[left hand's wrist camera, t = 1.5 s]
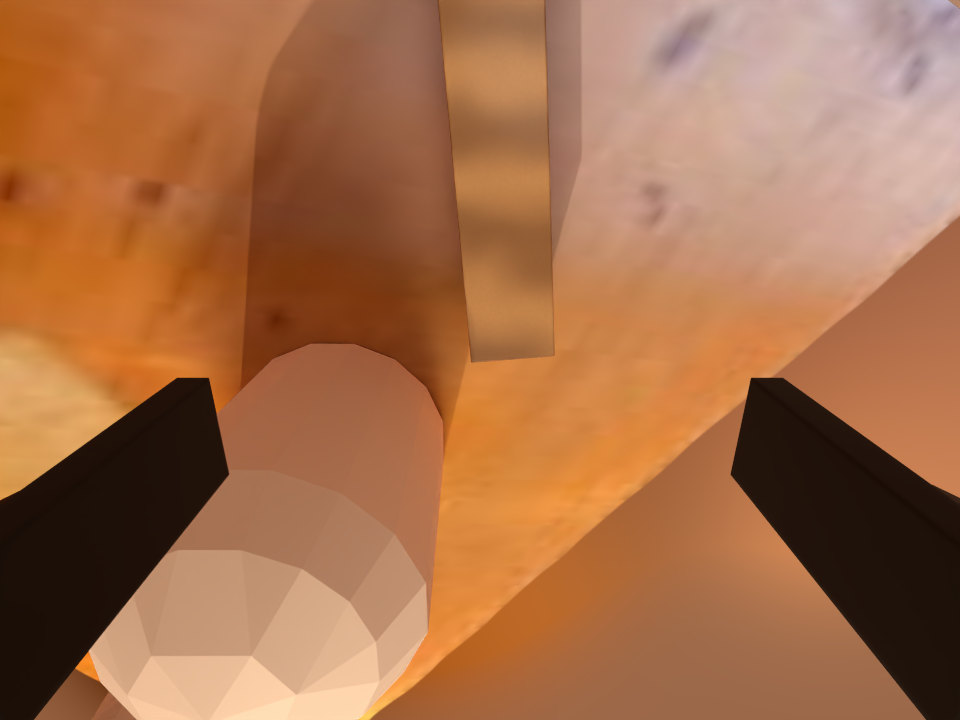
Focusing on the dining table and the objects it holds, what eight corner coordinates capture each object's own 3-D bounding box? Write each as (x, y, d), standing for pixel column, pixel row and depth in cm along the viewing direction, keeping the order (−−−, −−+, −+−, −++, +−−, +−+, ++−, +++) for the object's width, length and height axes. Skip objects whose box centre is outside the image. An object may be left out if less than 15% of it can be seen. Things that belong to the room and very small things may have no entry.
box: (538, 315, 47) (554, 356, 37) (472, 320, 47) (471, 362, 37) (524, -41, 37) (542, -113, 27) (440, -33, 37) (428, -102, 27)
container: (465, 505, 55) (456, 820, 29) (276, 536, 56) (102, 864, 30) (420, 323, 47) (354, 525, 21) (203, 363, 48) (-114, 601, 22)
